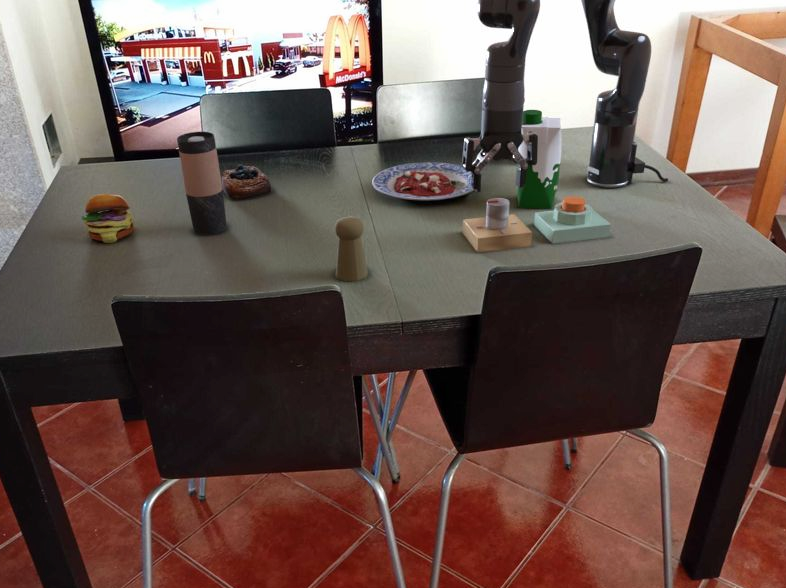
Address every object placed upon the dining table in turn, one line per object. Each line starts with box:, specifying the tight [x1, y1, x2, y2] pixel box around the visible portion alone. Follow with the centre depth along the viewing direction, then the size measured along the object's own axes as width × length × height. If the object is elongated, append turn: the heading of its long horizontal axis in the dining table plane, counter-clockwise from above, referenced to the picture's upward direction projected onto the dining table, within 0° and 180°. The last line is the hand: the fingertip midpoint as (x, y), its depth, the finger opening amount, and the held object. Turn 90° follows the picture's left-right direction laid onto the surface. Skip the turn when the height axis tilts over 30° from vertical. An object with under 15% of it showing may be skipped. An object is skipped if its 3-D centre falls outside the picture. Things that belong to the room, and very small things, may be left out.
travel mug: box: [176, 131, 227, 236], centre depth 159 cm, size 8×8×20 cm
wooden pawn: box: [334, 215, 369, 282], centre depth 140 cm, size 6×6×11 cm
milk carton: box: [516, 109, 563, 210], centre depth 165 cm, size 9×9×20 cm
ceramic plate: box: [371, 162, 483, 202], centre depth 180 cm, size 26×26×3 cm
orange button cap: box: [562, 195, 586, 213], centre depth 153 cm, size 4×4×2 cm
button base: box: [533, 201, 612, 245], centre depth 154 cm, size 12×10×5 cm
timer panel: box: [462, 213, 533, 253], centre depth 153 cm, size 11×10×3 cm
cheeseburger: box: [81, 193, 135, 244], centre depth 162 cm, size 10×11×10 cm
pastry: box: [220, 163, 272, 201], centre depth 182 cm, size 11×12×6 cm
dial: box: [485, 197, 510, 230], centre depth 150 cm, size 4×4×5 cm
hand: (498, 188), depth 148 cm, fingers open, 8 cm apart
